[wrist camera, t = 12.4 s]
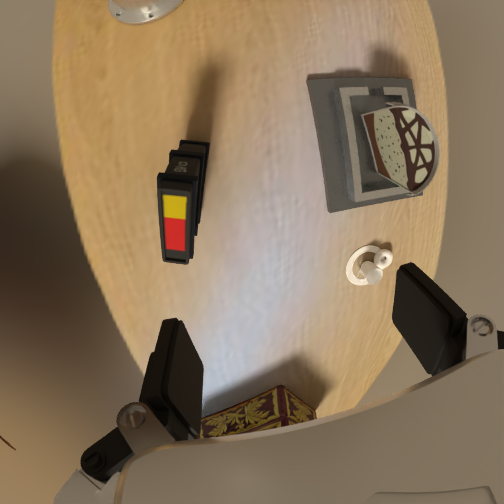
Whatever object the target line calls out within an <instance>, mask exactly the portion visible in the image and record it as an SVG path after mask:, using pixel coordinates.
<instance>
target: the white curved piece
mask: <svg viewBox="0 0 504 504" xmlns="http://www.w3.org/2000/svg"><path fill="white" fill-rule="evenodd" d="M364 252H374V253H375V256H374V263H373V262H370V261H365V262H363V263H362V265H361V269H360V270H359V271H358V274H357V278H356V277H355V276H354V274H353V272H352V266H353V263H354V261H355V259H356V258H357V257H358V256H359V255H360V254H362V253H364ZM385 256H386V260H385ZM392 259H393V255H392V253H391V251H389V250H387V249H382V250H381V249H380V248H379V247H377V246H373V245H368V246H364V247H361V248H360V249H358V250H357V251H355V252H354V253H353V254H352V256H351V257H350V258H349V260H348V263H347V266H346V275H347V278H348V279H349V281H350V282H352V283H353V284H356V285H366V284H376V283H378V282H379V281H380V280H381V278H382V275H383V273H382V271H383V268H385V267H387V266H389V265H390V264H391V262H392ZM360 272H362V274H363V276H364V278H363V279H359V274H360Z"/></svg>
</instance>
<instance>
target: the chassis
mask: <svg viewBox="0 0 504 504" xmlns="http://www.w3.org/2000/svg"><path fill="white" fill-rule="evenodd" d="M306 82H307V86H308V91H309V95H310V100H311V105H312V110H313V115H314V121H315V126H316V132H317V138H318V144H319V150H320V156H321V163H322V169H323V177H324V184H325V192H326V200H327V208H328V212H329V213H332V212H337V211H342V210H347V209H352V208H357V207H362V206H368V205H373V204H378V203H383V202H388V201H394V200H399V199H404V198H410V197H415V196H421V195H423V191H422V192H420V193H419V194H417V195H413V196H410V195H407V193H410V192H408V191H407V190H405V189H403V188H402V187H400V186H398V185H397V184H395V183H393V182H392V181H390V180H388V179H386V178H385V177H383V176H381V175H379V174H378V173H377V171H376V167H375V163H374V159H373V155H372V151H371V147H370V143H369V140H368V136H367V132H366V129H365V126H364V122H363V119H362V116H361V115H362V114H365V113H369V112H372V111H376V110H380V109H384V108H388V107H392V105H389V104H386V102H398V103H402V104H405V105H408V106H411V107H413V108H415V109H416V102H415V96H414V90H413V85H412V80H411V79H401V78H378V77H348V78H325V79H311V80H307V81H306Z"/></svg>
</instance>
